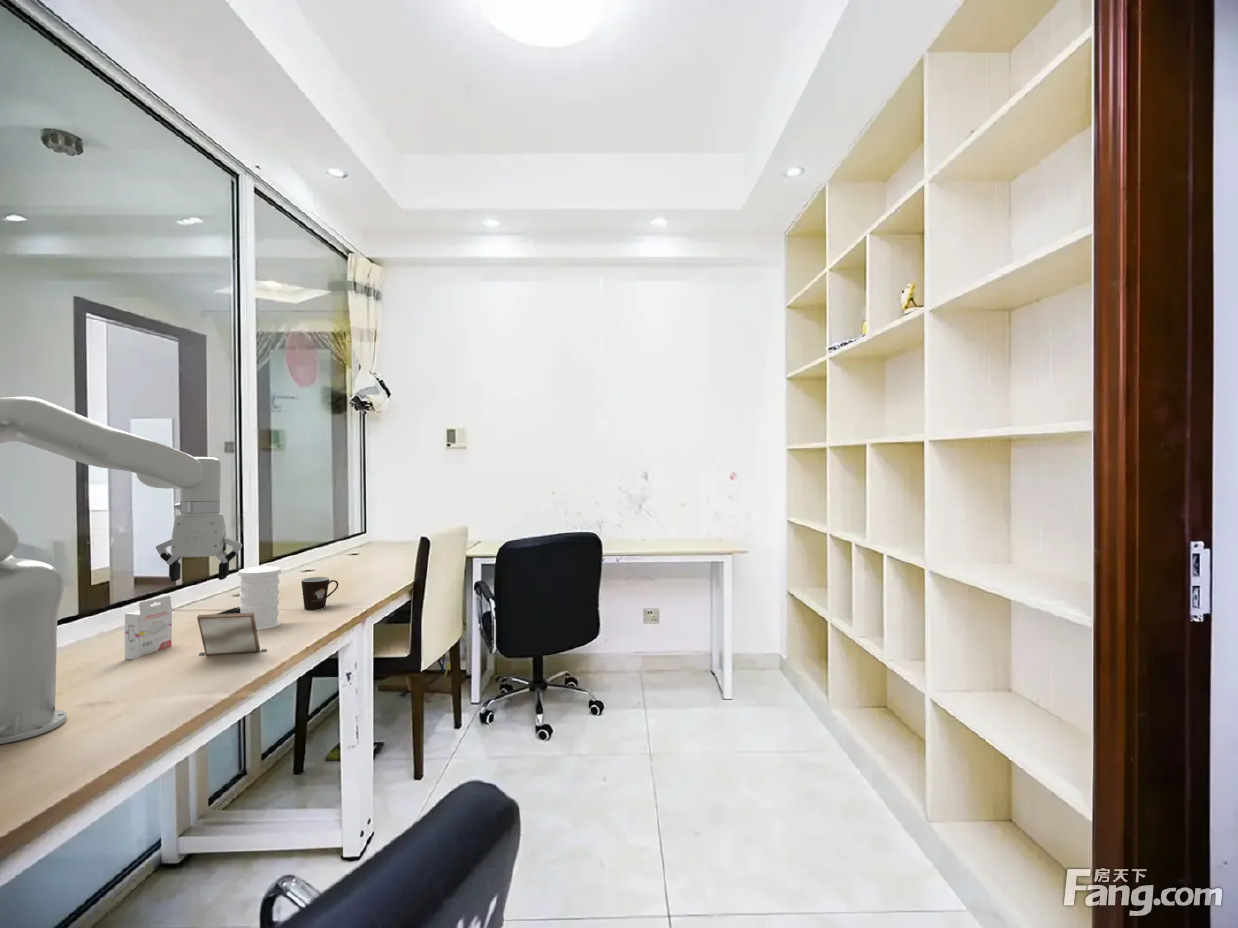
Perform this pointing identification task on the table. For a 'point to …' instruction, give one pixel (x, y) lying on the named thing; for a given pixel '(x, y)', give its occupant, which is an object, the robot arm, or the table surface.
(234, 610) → the electric trimmer
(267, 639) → the table surface
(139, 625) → the ink cartridge box
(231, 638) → the flap
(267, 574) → the decorative container
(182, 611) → the table surface
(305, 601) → the coffee mug
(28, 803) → the table surface
